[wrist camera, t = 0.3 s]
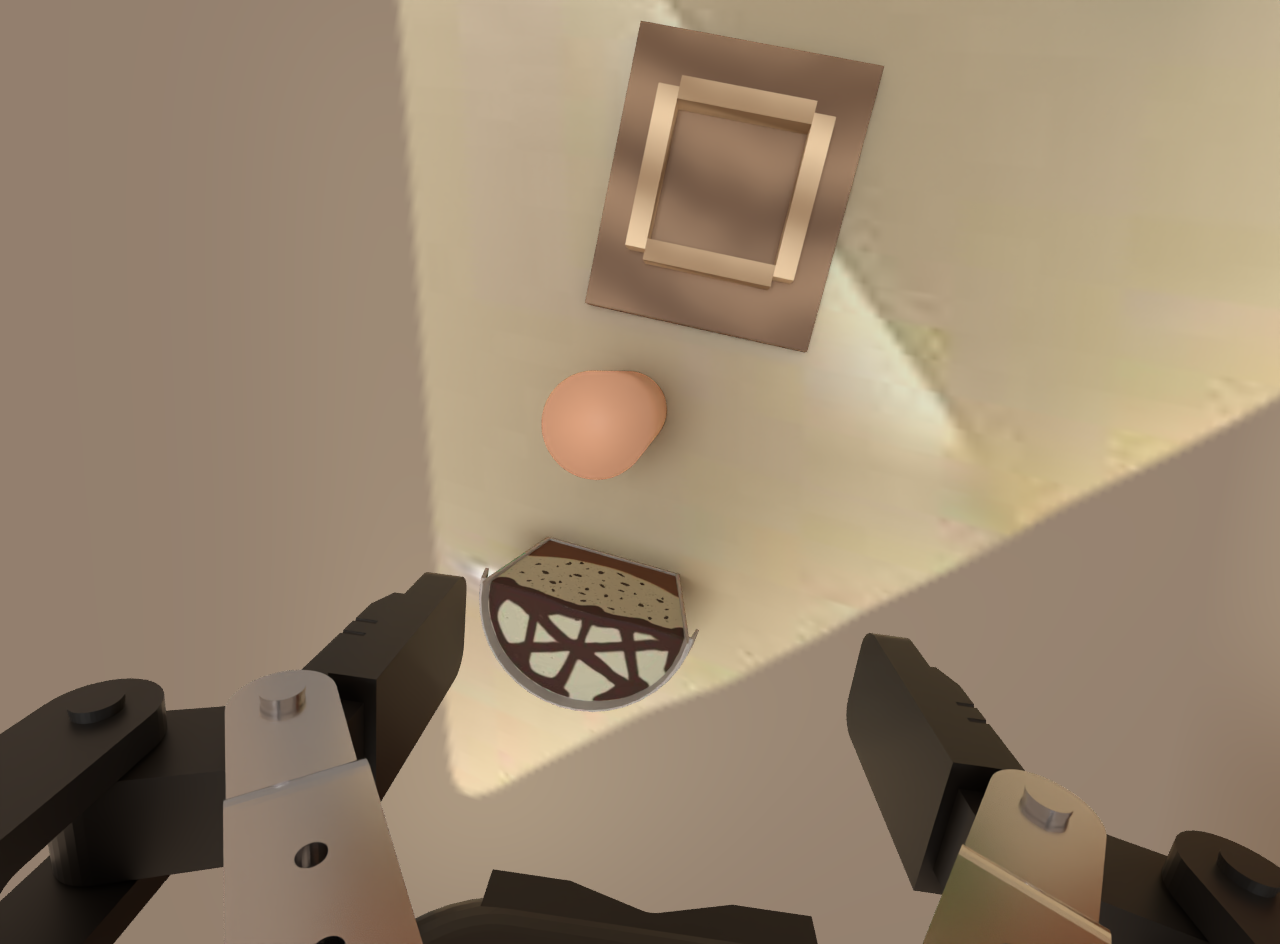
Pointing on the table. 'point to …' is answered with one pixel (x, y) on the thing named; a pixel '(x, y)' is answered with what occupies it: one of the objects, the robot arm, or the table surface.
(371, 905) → the robot arm
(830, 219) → the board
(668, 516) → the table surface
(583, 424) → the terracotta pin
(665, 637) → the food container
